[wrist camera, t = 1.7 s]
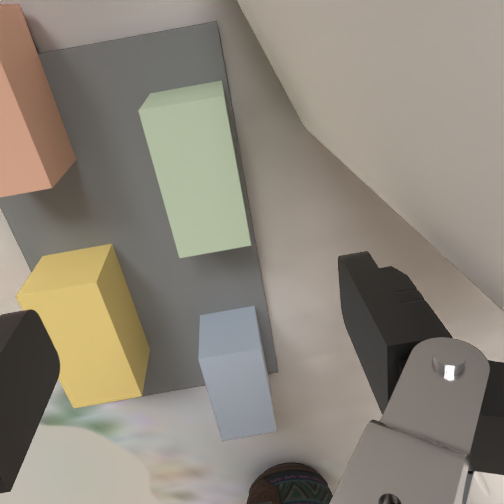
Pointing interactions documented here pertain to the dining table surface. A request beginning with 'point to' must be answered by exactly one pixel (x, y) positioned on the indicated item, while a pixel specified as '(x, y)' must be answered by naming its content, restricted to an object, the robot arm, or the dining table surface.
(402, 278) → the robot arm
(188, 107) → the green block
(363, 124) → the milk
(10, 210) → the mat
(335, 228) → the dining table surface
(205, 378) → the blue block
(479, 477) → the white cup
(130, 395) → the mustard block
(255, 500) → the mate gourd
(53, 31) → the dining table surface
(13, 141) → the terracotta block
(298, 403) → the dining table surface
